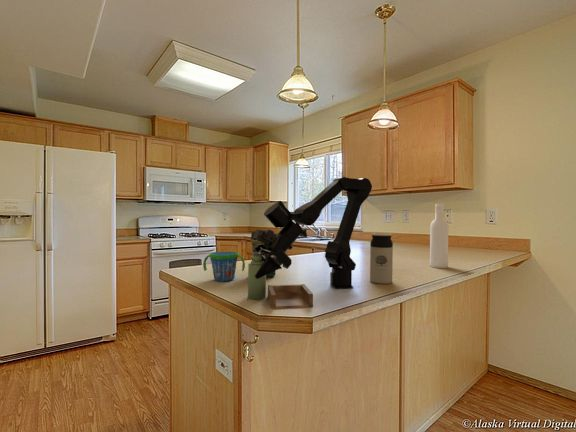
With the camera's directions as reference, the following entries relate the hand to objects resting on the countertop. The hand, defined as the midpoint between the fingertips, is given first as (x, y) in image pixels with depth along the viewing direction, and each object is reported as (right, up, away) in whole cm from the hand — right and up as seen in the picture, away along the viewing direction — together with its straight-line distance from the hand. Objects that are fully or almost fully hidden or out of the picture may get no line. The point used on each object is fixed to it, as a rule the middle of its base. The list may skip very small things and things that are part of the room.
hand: (252, 275), depth 94 cm
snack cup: (-14, -6, +25) cm, 29 cm away
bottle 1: (+1, -7, +1) cm, 7 cm away
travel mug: (+45, -7, +23) cm, 51 cm away
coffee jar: (+1, -6, +31) cm, 32 cm away
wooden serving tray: (+11, -7, -4) cm, 13 cm away
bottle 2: (+83, -6, +56) cm, 100 cm away
